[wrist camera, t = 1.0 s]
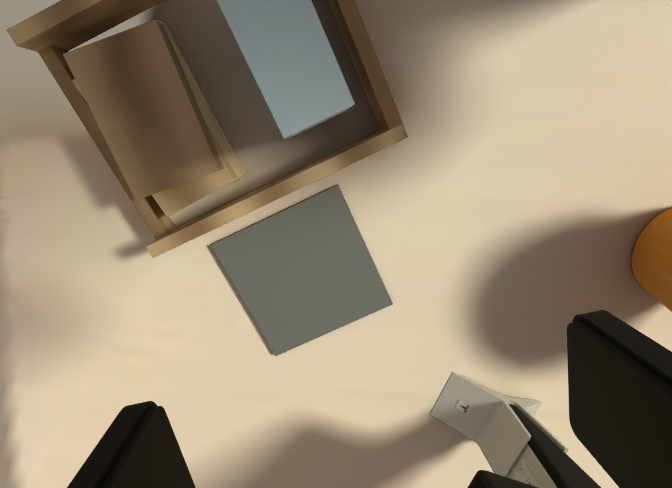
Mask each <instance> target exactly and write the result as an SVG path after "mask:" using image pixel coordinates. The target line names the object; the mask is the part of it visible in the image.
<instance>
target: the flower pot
mask: <svg viewBox="0 0 672 488" xmlns="http://www.w3.org/2000/svg"><path fill="white" fill-rule="evenodd" d="M632 269H633V273H634V276H635V278H636V280H637V282H638V283H639V284H640V285H641V286H642V287H643V288H644V289H645V290H646V291H647V292H648V293H650V294H651V295H652V296H653V297H655V298H656V299H657V300H658V301H659V302H661V303H662V304H663V305H664V306H666V307H667V308H668V309H669V310H670V311H672V208H671V209H668V210H666V211H665V212H663V213H661V214H659V215H658V216H657V217H655V218H654V219H653V220H652V221H651V222H650V223H649V224H648V225H647V226H646V227H645V228H644V229H643V231H642V232H641V234H640V235H639V237H638V239H637V241H636V244H635V248H634V251H633V254H632Z"/></svg>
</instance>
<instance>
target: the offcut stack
mask: <svg viewBox="0 0 672 488" xmlns="http://www.w3.org/2000/svg"><path fill="white" fill-rule="evenodd" d="M63 56H64V58H65V60H66V62H67V64H68V66H69V68H70V70H71V72H72V74H73V76H74V78H75V79H74V80H72V82H73V84H74V85H75V86H76V88H77V89H78V91H79V92H80V94H81V95H82V96H83V98H84V99H85V101H86V102H87V104H88V106H89V108H90V110H91V112H92V114H93V116H94V118H95V120H96V122H97V124H98V126H99V128H100V130H101V132H102V134H103V136H104V138H105V140H106V142H107V144H108V146H109V148H110V150H111V152H112V154H113V156H114V158H115V160H116V162H117V164H118V166H119V168H120V170H121V172H122V174H123V176H124V178H125V180H126V182H127V184H128V186H129V188H130V190H131V192H132V194H133V196H134V198H135V200H138V199H141V198H144V197H147V196H150V195H152V196H153V198H154V199H155V200H156V202H157V203H158V205H159V206H160V208H161V209H162V210H163V212H164V213H165V215H166V216H167V217H169V216H171V215H173V214H174V213H176V212H178V211H179V210H181V209H183V208H185V207H186V206H188V205H190V204H192V203H193V202H195V201H197V200H199V199H200V198H202V197H204V196H205V195H207V194H209V193H211V192H212V191H214V190H216V189H218V188H219V187H221V186H223V185H225V184H228V183H230V182H232V181H234V180H236V179H238V178H240V177H242V176H244V175H245V174H246V173H245V172H244V170H243V168H242V166H241V164H240V162H239V160H238V158H237V156H236V155H235V153H234V151H233V149H232V147H231V145H230V143H229V141H228V139H227V138H226V136H225V134H224V132H223V130H222V128H221V126H220V124H219V122H218V120H217V119H216V117H215V115H214V113H213V111H212V109H211V107H210V105H209V103H208V102H207V100H206V98H205V96H204V94H203V92H202V90H201V88H200V86H199V85H198V83H197V81H196V79H195V77H194V75H193V73H192V71H191V69H190V67H189V66H188V64H187V62H186V60H185V58H184V56H183V54H182V52H181V50H180V49H179V47H178V45H177V43H176V41H175V39H174V37H173V35H172V33H171V31H170V30H169V28H168V26H167V25H166V24H165V23H163V22H162V21H160V20H158V21H157V20H152V21H150V22H147V23H144V24H142V25H139V26H137V27H134V28H131V29H129V30H126V31H123V32H121V33H118V34H115V35H113V36H110V37H107V38H105V39H102V40H100V41H97V42H94V43H91V44H89V45H86V46H84V47H81V48H78V49H75V50H73V51H70V52H67V53H65V54H63Z"/></svg>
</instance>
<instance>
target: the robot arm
mask: <svg viewBox="0 0 672 488" xmlns="http://www.w3.org/2000/svg"><path fill="white" fill-rule="evenodd" d="M567 349H568V385H569V419H570V424H571V427H572V430H573V432H574V433H575V435H576V436H577V438H578V439H579V440H580V441H581V443H582V444H583V445H584V446H585V447H586V449H587V450H588V451H589V452H590V453H591V455H592V456H593V457H594V458H595V459H596V460H597V462H598V463H599V464H600V465H601V466H602V468H603V469H604V470H605V471H606V472H607V473H608V475H609V476H610V477H611V478H612V479H613V481H614V482H615V483H616V484H617V485H618V487H619V488H672V352H671V351H669V350H668V349H666V348H665V347H663V346H661V345H660V344H658V343H657V342H655V341H653V340H652V339H650V338H649V337H647V336H645V335H644V334H642V333H641V332H639V331H637V330H636V329H634V328H633V327H631V326H630V325H628V324H626V323H625V322H623V321H622V320H620V319H618V318H617V317H615V316H614V315H612V314H610V313H609V312H607V311H604V310H600V311H595V312H590V313H585V314H580V315H576V316H575V317H574V319H573V323H570V324H568V327H567ZM67 488H195V485H194V483H193V480H192V478H191V475H190V473H189V470H188V467H187V465H186V462H185V460H184V457H183V455H182V452H181V450H180V447H179V445H178V442H177V440H176V437H175V435H174V432H173V430H172V427H171V424H170V422H169V419H168V417H167V414H166V412H165V410H164V408H163V407H162V406H157V405H156V404H155V403H154V402H152V401H148V402H143V403H138V404H133V405H128V406H125V407H124V408H123V409H122V410H121V411H120V413H119V414H118V415H117V417H116V418H115V420H114V421H113V423H112V424H111V425H110V427H109V428H108V430H107V431H106V433H105V434H104V435H103V437H102V438H101V440H100V441H99V443H98V444H97V446H96V447H95V448H94V450H93V451H92V453H91V454H90V456H89V457H88V458H87V460H86V461H85V463H84V464H83V466H82V467H81V469H80V470H79V471H78V473H77V474H76V476H75V477H74V479H73V480H72V481H71V483H70V484H69V486H68V487H67Z"/></svg>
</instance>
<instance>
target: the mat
mask: <svg viewBox="0 0 672 488" xmlns="http://www.w3.org/2000/svg"><path fill="white" fill-rule="evenodd" d="M210 246H211V247H212V249H213V251H214V253H215V254H216V256H217V258H218V259H219V261H220V263H221V264H222V266H223V268H224V270H225V271H226V273H227V275H228V276H229V278H230V280H231V281H232V283H233V285H234V287H235V288H236V290H237V292H238V293H239V295H240V297H241V298H242V300H243V302H244V304H245V305H246V307H247V309H248V310H249V312H250V314H251V315H252V317H253V319H254V321H255V322H256V324H257V326H258V327H259V329H260V331H261V332H262V334H263V336H264V338H265V339H266V341H267V343H268V344H269V346H270V348H271V350H272V351H273V353H274V355H275V356H277V355H279V354H282V353H284V352H286V351H288V350H291V349H293V348H295V347H297V346H300V345H302V344H304V343H306V342H309V341H311V340H313V339H315V338H318V337H320V336H322V335H324V334H327V333H329V332H331V331H333V330H336V329H338V328H340V327H342V326H345V325H347V324H349V323H351V322H354V321H356V320H358V319H360V318H363V317H365V316H367V315H369V314H372V313H374V312H376V311H379V310H381V309H383V308H385V307H388V306H390V305H392V304H393V303H392V301H391V299H390V297H389V295H388V292H387V290H386V288H385V286H384V284H383V282H382V279H381V277H380V275H379V273H378V271H377V269H376V266H375V264H374V262H373V260H372V258H371V256H370V253H369V251H368V249H367V247H366V245H365V242H364V240H363V238H362V236H361V234H360V232H359V229H358V227H357V225H356V223H355V221H354V219H353V216H352V214H351V212H350V210H349V208H348V206H347V203H346V201H345V199H344V197H343V195H342V193H341V190H340V188H339V186H338V185H336V186H334V187H331V188H329V189H327V190H325V191H323V192H321V193H319V194H317V195H314V196H312V197H310V198H308V199H306V200H304V201H302V202H300V203H298V204H295V205H293V206H291V207H289V208H287V209H285V210H283V211H281V212H278V213H276V214H274V215H272V216H270V217H268V218H266V219H264V220H262V221H259V222H257V223H255V224H253V225H251V226H249V227H247V228H245V229H242V230H240V231H238V232H236V233H234V234H232V235H230V236H228V237H225V238H223V239H221V240H219V241H217V242H215V243H213V244H211V245H210Z"/></svg>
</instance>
